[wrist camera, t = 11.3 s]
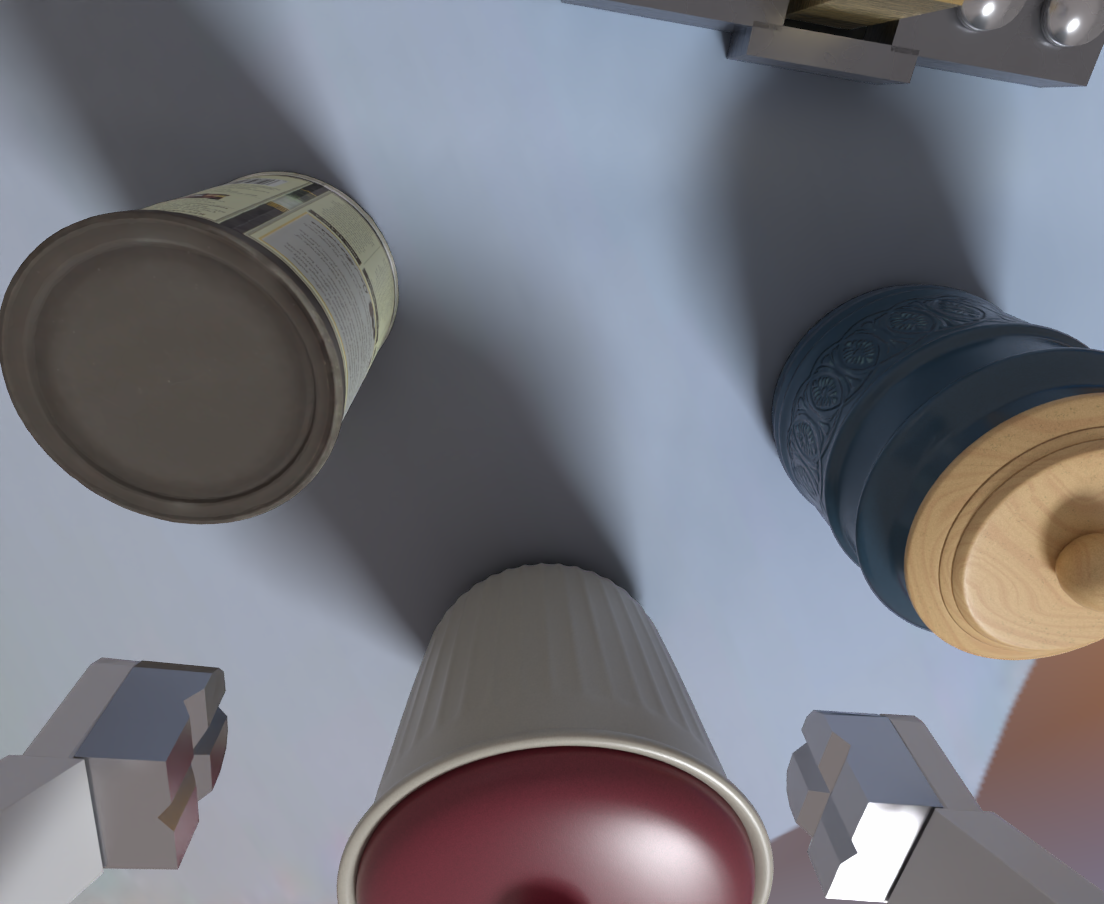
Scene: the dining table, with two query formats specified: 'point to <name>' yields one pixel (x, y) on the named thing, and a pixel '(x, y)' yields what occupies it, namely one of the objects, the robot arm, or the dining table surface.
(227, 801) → the dining table surface
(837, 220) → the dining table surface
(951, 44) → the silver studded bar
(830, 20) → the gold rectangular block
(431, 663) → the canister
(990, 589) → the canister
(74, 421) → the coffee can
